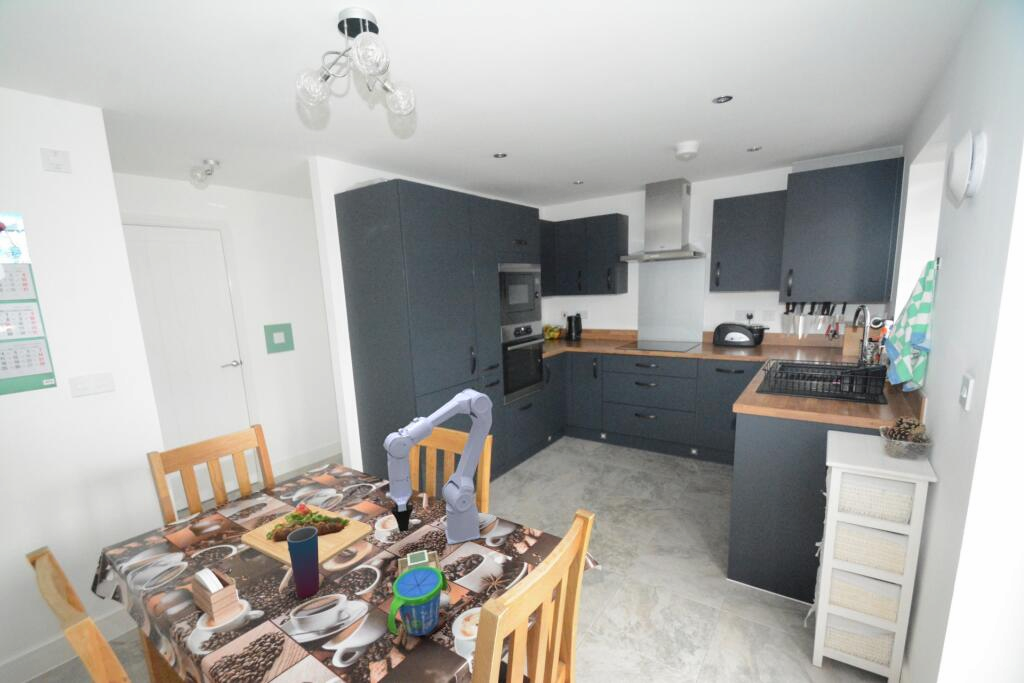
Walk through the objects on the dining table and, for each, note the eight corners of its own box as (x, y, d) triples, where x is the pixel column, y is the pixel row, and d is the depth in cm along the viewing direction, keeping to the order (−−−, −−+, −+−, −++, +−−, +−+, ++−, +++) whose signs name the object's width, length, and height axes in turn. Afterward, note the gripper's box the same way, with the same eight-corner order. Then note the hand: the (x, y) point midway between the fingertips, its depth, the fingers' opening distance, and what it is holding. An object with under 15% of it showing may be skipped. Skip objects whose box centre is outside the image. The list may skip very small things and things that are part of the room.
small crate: (427, 567, 109) (426, 549, 109) (429, 579, 105) (428, 560, 104) (408, 572, 108) (406, 554, 107) (409, 584, 103) (408, 565, 103)
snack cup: (405, 662, 82) (401, 614, 81) (376, 635, 88) (372, 591, 87) (463, 613, 93) (461, 571, 92) (433, 593, 100) (431, 554, 99)
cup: (311, 601, 99) (304, 543, 98) (286, 598, 101) (280, 541, 99) (329, 582, 106) (323, 527, 104) (305, 580, 107) (300, 525, 106)
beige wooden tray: (437, 560, 113) (436, 550, 112) (442, 585, 103) (441, 574, 103) (398, 569, 110) (397, 559, 110) (400, 595, 100) (399, 584, 100)
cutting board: (237, 542, 127) (234, 519, 127) (308, 507, 147) (306, 487, 147) (307, 577, 110) (304, 550, 109) (376, 532, 130) (374, 509, 129)
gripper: (384, 468, 119) (388, 513, 121) (384, 490, 106) (388, 540, 107) (409, 465, 121) (412, 508, 123) (412, 485, 108) (416, 535, 109)
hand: (403, 523), depth 115 cm, fingers open, 7 cm apart
